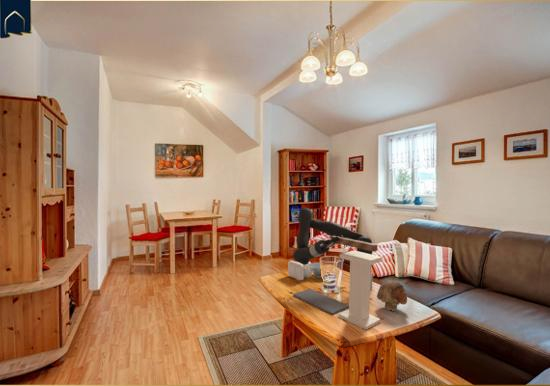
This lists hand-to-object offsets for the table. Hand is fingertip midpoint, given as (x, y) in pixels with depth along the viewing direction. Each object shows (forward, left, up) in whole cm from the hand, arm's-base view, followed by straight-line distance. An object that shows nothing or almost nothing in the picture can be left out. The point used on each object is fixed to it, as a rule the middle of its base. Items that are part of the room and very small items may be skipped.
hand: (340, 237), depth 147 cm
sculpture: (-26, +12, -39) cm, 49 cm away
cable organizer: (-9, -52, -39) cm, 65 cm away
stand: (-2, +12, -39) cm, 41 cm away
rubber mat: (+2, -13, -39) cm, 41 cm away
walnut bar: (-1, +7, -3) cm, 8 cm away
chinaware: (-24, -48, -39) cm, 66 cm away
